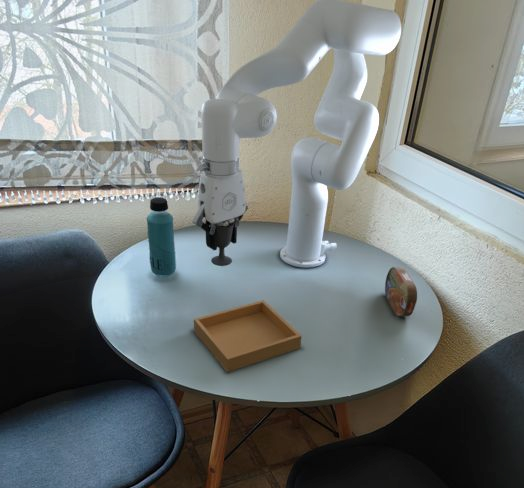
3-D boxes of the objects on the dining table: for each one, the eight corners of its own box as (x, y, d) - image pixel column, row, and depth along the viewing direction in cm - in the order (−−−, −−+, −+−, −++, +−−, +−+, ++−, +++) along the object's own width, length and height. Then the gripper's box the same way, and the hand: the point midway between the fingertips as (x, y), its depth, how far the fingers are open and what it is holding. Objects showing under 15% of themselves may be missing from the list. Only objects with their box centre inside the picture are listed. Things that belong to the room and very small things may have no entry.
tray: (262, 312, 120) (263, 300, 118) (300, 348, 110) (301, 335, 108) (193, 331, 113) (193, 318, 111) (227, 372, 102) (227, 359, 100)
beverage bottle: (179, 270, 134) (176, 195, 121) (173, 283, 128) (169, 206, 116) (154, 267, 134) (148, 192, 122) (147, 280, 129) (140, 203, 116)
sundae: (239, 257, 123) (241, 196, 114) (229, 270, 118) (230, 207, 109) (214, 252, 124) (214, 191, 115) (202, 264, 119) (201, 201, 110)
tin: (382, 290, 132) (389, 260, 127) (394, 290, 132) (401, 260, 127) (399, 323, 120) (408, 292, 115) (412, 323, 120) (421, 292, 115)
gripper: (197, 179, 101) (200, 261, 112) (263, 162, 110) (260, 240, 121) (176, 168, 105) (181, 248, 116) (241, 153, 114) (240, 229, 125)
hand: (221, 243), depth 118 cm, fingers closed on sundae, 4 cm apart
